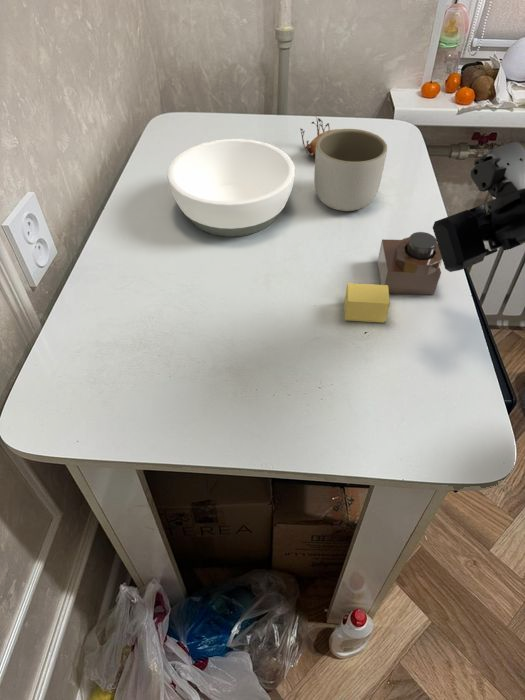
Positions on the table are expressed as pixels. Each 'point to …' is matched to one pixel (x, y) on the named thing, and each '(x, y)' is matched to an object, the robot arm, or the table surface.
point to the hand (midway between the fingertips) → (456, 237)
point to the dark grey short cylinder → (421, 246)
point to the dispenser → (407, 269)
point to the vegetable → (312, 146)
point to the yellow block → (366, 302)
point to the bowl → (231, 185)
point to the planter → (348, 168)
